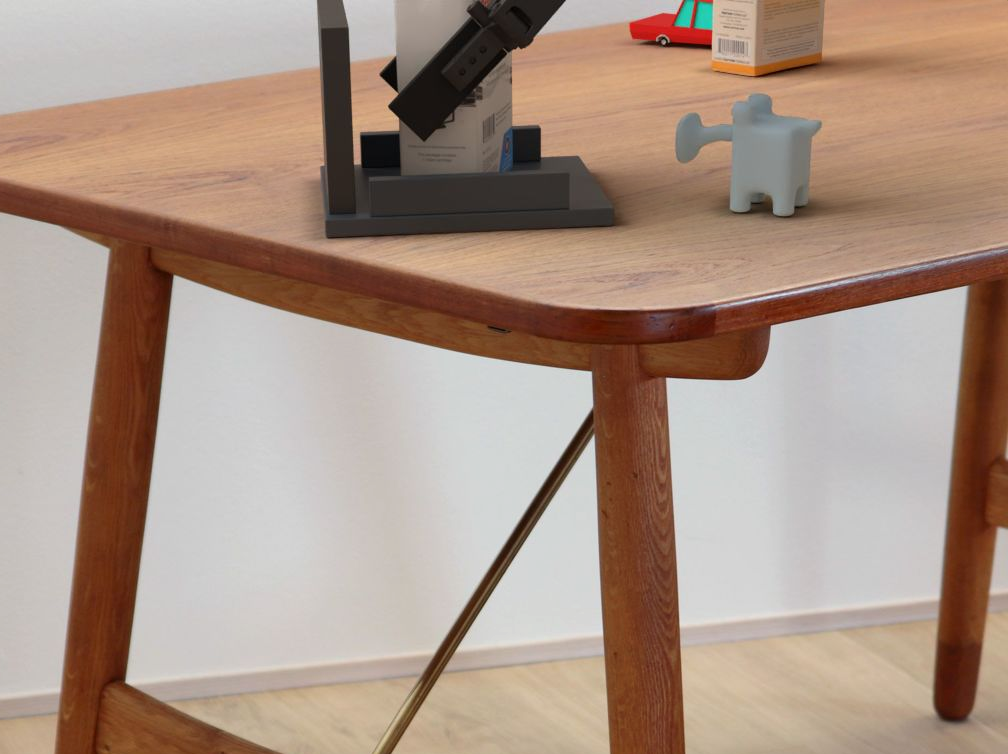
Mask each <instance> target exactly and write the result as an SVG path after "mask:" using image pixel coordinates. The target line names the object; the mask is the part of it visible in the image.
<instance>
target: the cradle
mask: <svg viewBox="0 0 1008 754" xmlns="http://www.w3.org/2000/svg"><path fill="white" fill-rule="evenodd" d="M316 9H317V10H316V12H317V33H318V34H317V36H318V56H319V79H320V81H319V82H320V99H321V101H320V103H321V120H322V121H321V123H322V125H321V126H322V145H323V164H324V165H320V166H319V172H320V174H319V176H320V187H321V199H322V210H323V222H324V223H323V224H324V232H325V237H326V238H347V237H371V236H372V237H374V236H375V237H376V236H396V235H418V234H419V235H420V234H421V235H422V234H442V233H443V234H444V233H466V232H467V233H469V232H470V233H471V232H492V231H513V230H514V231H516V230H538V229H563V228H588V227H590V228H591V227H608V226H609V227H612V226H615V214H616V213H615V207H614V206H613V204H612V203H611V201H610V200H609V198H608V197H607V195H606V194H605V192H604V191H603V189H602V187H601V186H600V185H599V183H598V182H597V181H596V179H595V177H594V176H593V175H592V173H591V172H590V170H589V168H588V167H587V165H586V164H585V163H584V161H583V160H582V158H581V157H580V156H579V155H558V156H557V155H556V156H542V128H541V126H540V125H539V124H528V125H525V124H524V125H512V144H513V167H512V168H511V169H510V170H509V171H506V172H482V173H457V174H432V175H408V176H401V163H400V137H399V130H377V131H376V130H375V131H360V132H359V148H360V149H359V150H360V151H359V152H360V163H357V164H355V156H354V155H355V152H354V127H353V123H354V122H353V105H352V103H353V102H352V98H353V97H352V76H351V74H352V73H351V50H350V48H351V47H350V46H351V45H350V27H349V23H348V22H349V21H348V19H347V13H346V9H345V5H344V1H343V0H316Z"/></svg>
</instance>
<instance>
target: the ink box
mask: <svg viewBox="0 0 1008 754" xmlns="http://www.w3.org/2000/svg"><path fill="white" fill-rule="evenodd" d="M476 1H478V0H393V12H394V13H393V14H394V17H393V18H394V31H395V32H394V33H395V36H394V37H395V51H396V52H395V56H396V59H397V82H398V93H397V95H398V94H399V93H400V92H401V91H402V90H403V89H404V88H405V87H406V86H407V85H408V84H409V82H410V81H411V80H412V79H413V78H414V77H415V76H416V75H417V74H418V73H419V72H420V71H421V70H422V68H423V67H424V66H425V65H426V64H427V63H428V62H429V61H430V60H431V59H432V58H433V57H434V56H435V54H436V53H437V52H438V51H439V50H440V49H441V48H442V47H443V46H444V45H445V44H446V43H447V42H448V40H449V39H450V38H451V37H452V36H453V35H454V34H455V33H456V32H457V31H458V30H459V29H460V28H461V27H462V25H463V24H464V23H465V22H466V21H467V20H468V19H469V18H470V17H472V16H471V15H470V14H469V13H468V12H467V11H466V10H467V8H468V6H469V5H471V4H472V3H474V2H476ZM479 1H480V2H481V3H482V4H483V5H484V6H485V7H486V6H487V5H488V3H489V2H490V1H491V0H479ZM472 18H473V17H472ZM473 19H474V18H473ZM474 20H475V19H474ZM475 21H476V20H475ZM476 22H477V21H476ZM477 23H478V22H477ZM478 24H479V23H478ZM479 25H480V24H479ZM480 26H481V25H480ZM481 27H482V26H481ZM503 49H504V48H503ZM504 50H505V49H504ZM505 51H506V50H505ZM506 52H507V51H506ZM512 126H513V50H512V51H511V52H509V53H508V52H507V55H506V56H505V57H504V58H503V59H502V60H501V61H500V63H499V64H498V65H497V66H496V67H495V68H494V69H493V70H492V71H491V72H490V73H489V74H488V75H487V76H486V77H485V78H484V80H483V81H482V82H481V83H480V84H479V85H478V86H477V87H476V88H475V89H474V90H473V91H472V92H471V93H470V94H469V95H468V96H467V98H466V99H465V100H464V101H463V102H462V103H461V104H460V105H459V106H458V107H457V108H456V109H455V110H454V111H453V112H452V113H451V115H450V116H449V117H448V118H447V119H446V120H445V121H444V122H443V123H442V124H441V125H440V126H439V127H438V128H437V129H436V130H435V131H434V133H433V134H432V135H431V136H430V137H429V138H428V139H427V140H426V141H425V142H423V141H422V140H421V139H420V138H419V137H418V136H417V135H416V134H415V133H414V132H413V131H412V130H411V129H410V128H409V127H408V126H407V125H406V124H404V123H403V122H402V121H401V120H400V119H399V118H398V131H399V137H400V163H401V176H408V175H432V174H457V173H482V172H506V171H509V170H510V169H511V168H512V167H513V144H512Z"/></svg>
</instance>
